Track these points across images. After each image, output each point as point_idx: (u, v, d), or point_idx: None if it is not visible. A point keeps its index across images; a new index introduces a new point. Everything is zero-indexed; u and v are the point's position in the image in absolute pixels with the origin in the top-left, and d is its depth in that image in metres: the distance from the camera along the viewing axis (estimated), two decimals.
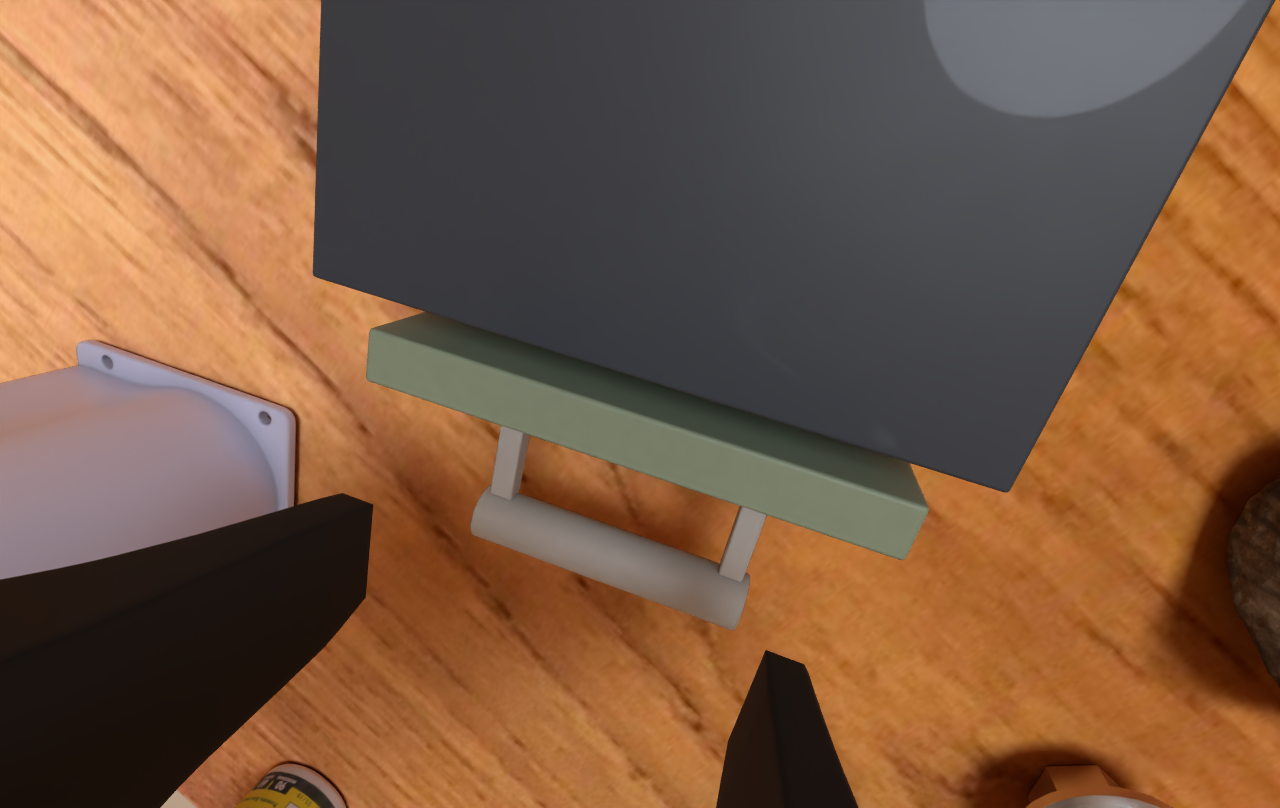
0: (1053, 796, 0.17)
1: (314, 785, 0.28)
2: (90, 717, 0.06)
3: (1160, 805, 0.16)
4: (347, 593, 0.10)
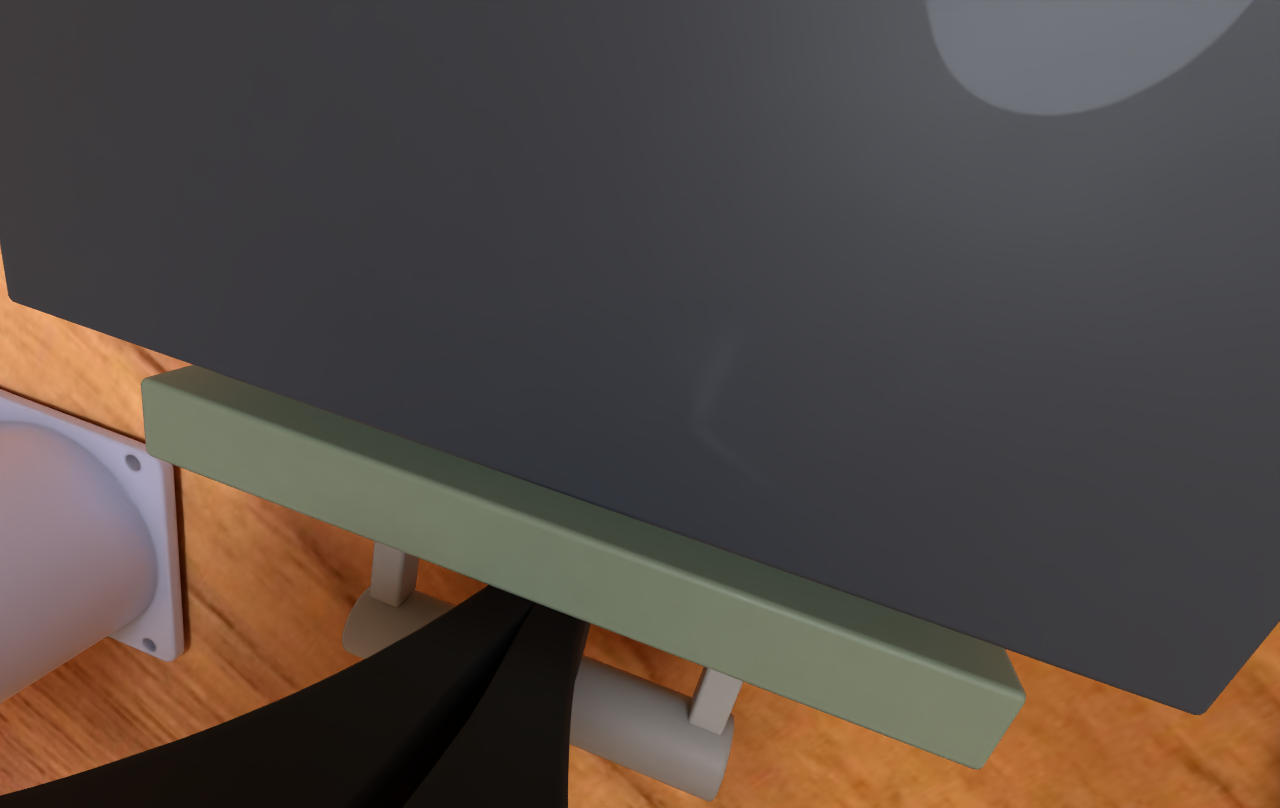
0: None
1: None
2: None
3: None
4: None
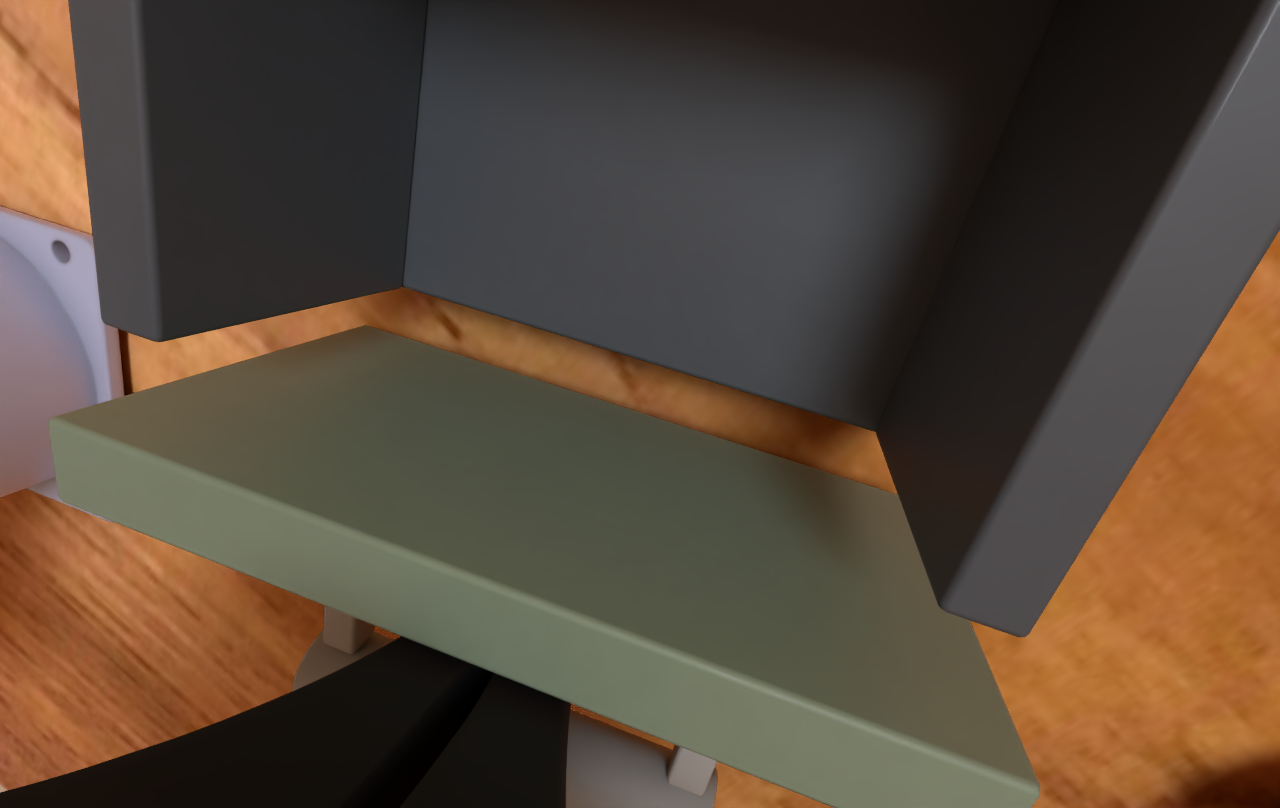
0: None
1: None
2: None
3: None
4: None
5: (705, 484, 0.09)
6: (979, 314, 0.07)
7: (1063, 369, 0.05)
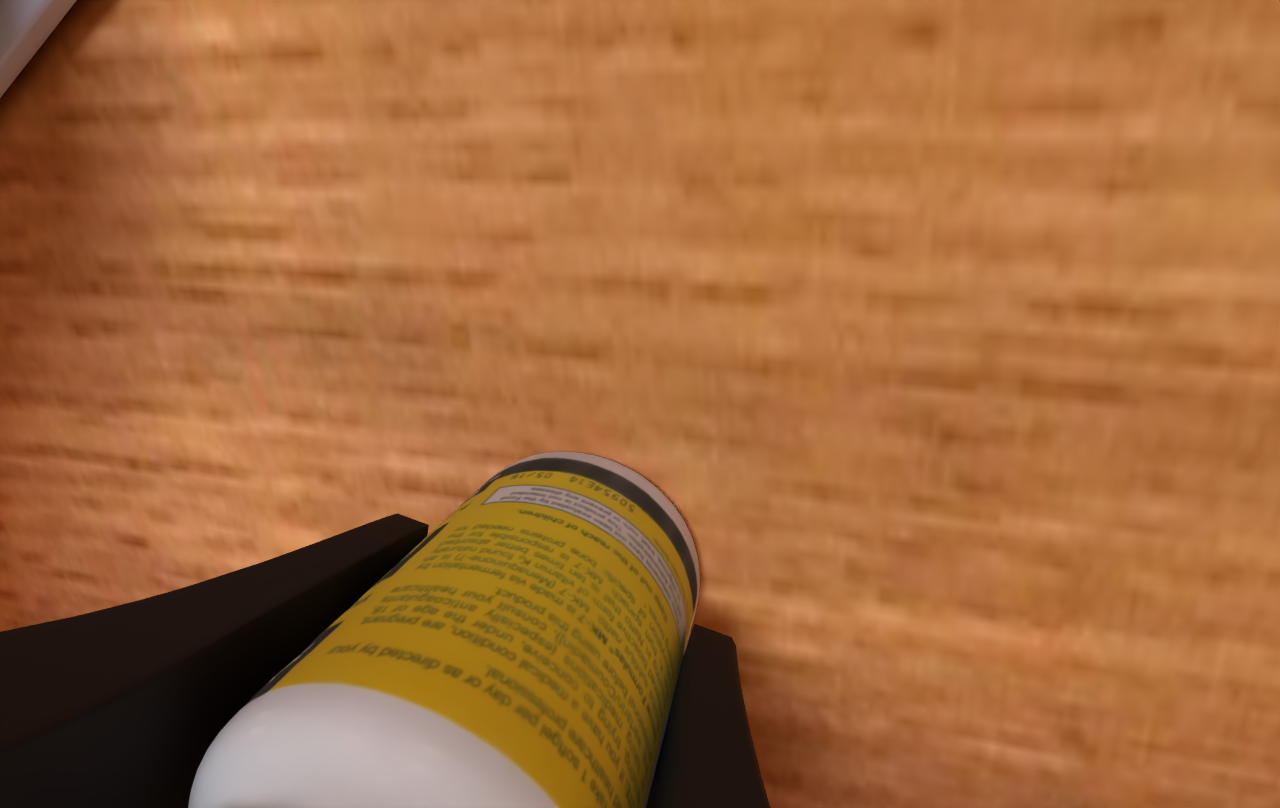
0: None
1: (544, 458, 0.10)
2: (173, 755, 0.06)
3: None
4: None
5: None
6: None
7: None
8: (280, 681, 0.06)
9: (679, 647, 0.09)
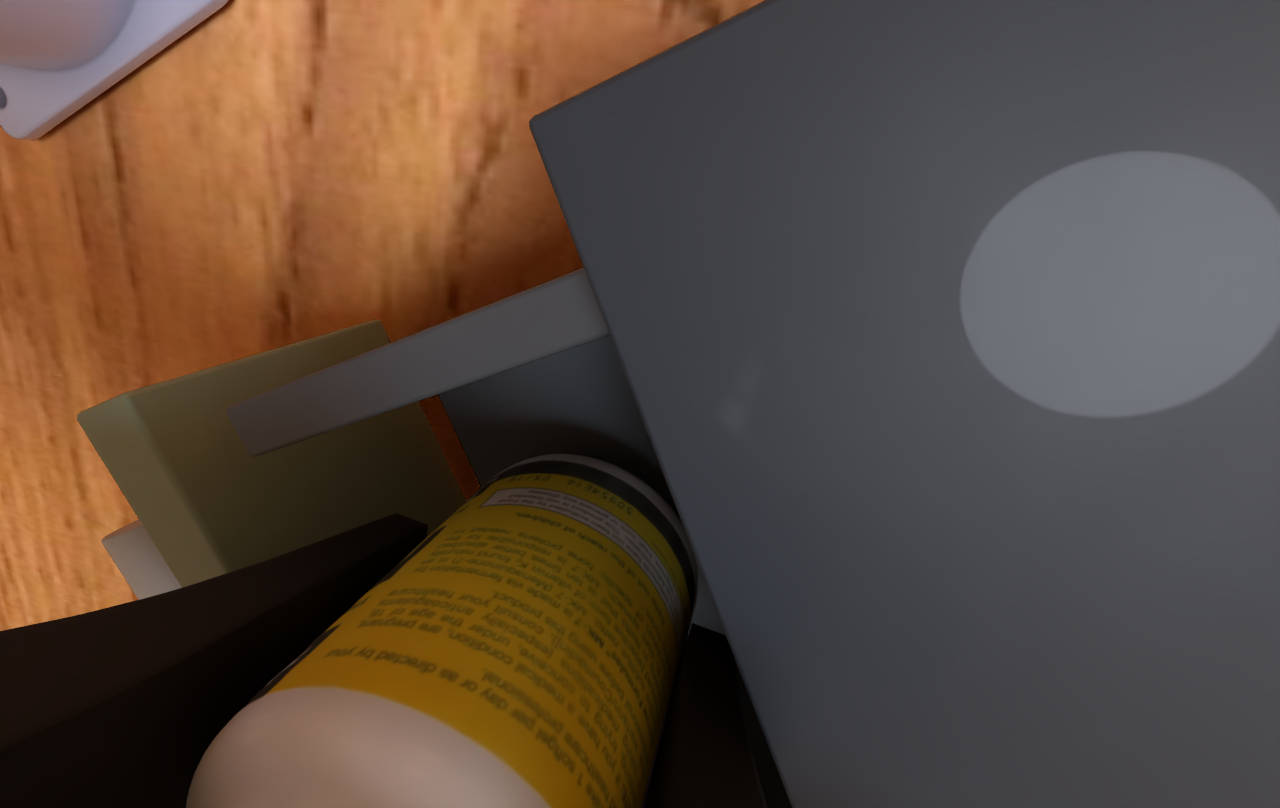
0: None
1: (542, 460, 0.10)
2: (172, 755, 0.06)
3: None
4: None
5: None
6: None
7: None
8: (277, 685, 0.06)
9: (676, 650, 0.09)
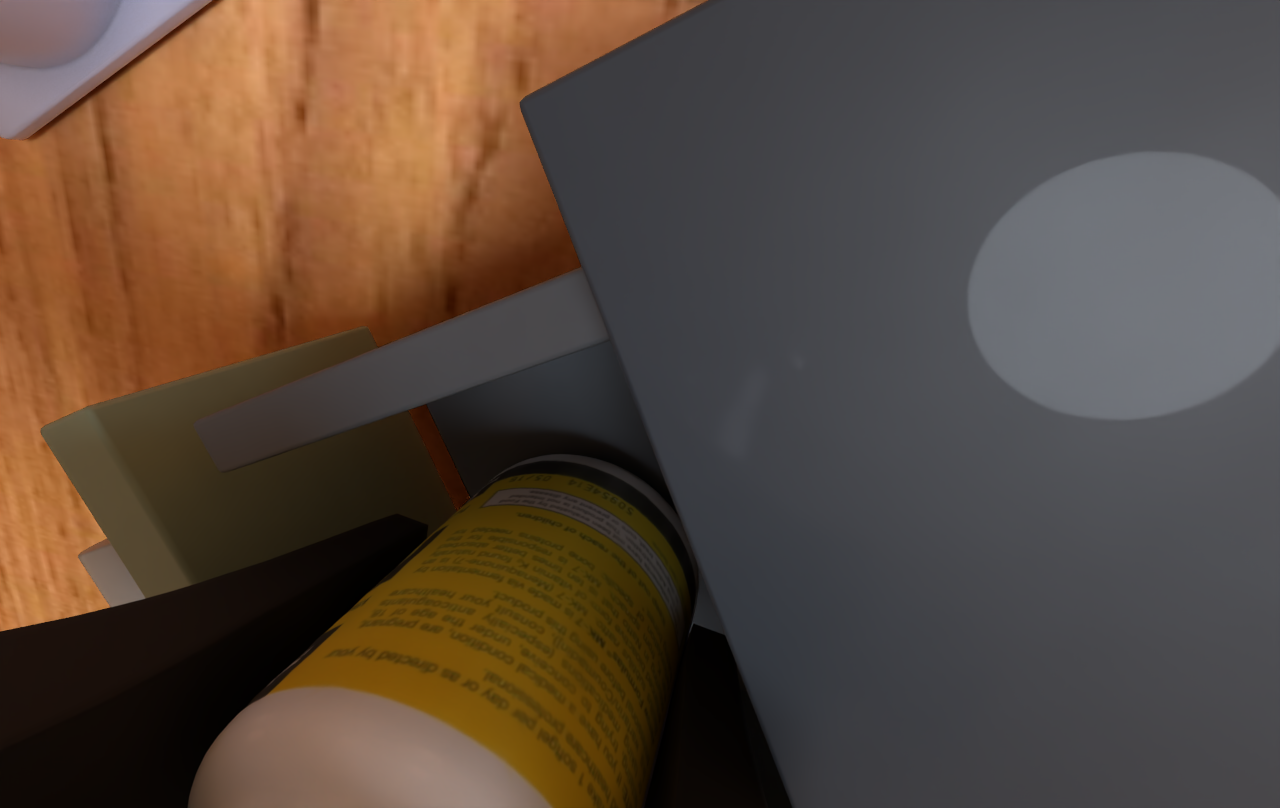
0: None
1: (543, 461, 0.10)
2: (172, 755, 0.06)
3: None
4: None
5: None
6: None
7: None
8: (278, 684, 0.06)
9: (677, 650, 0.09)
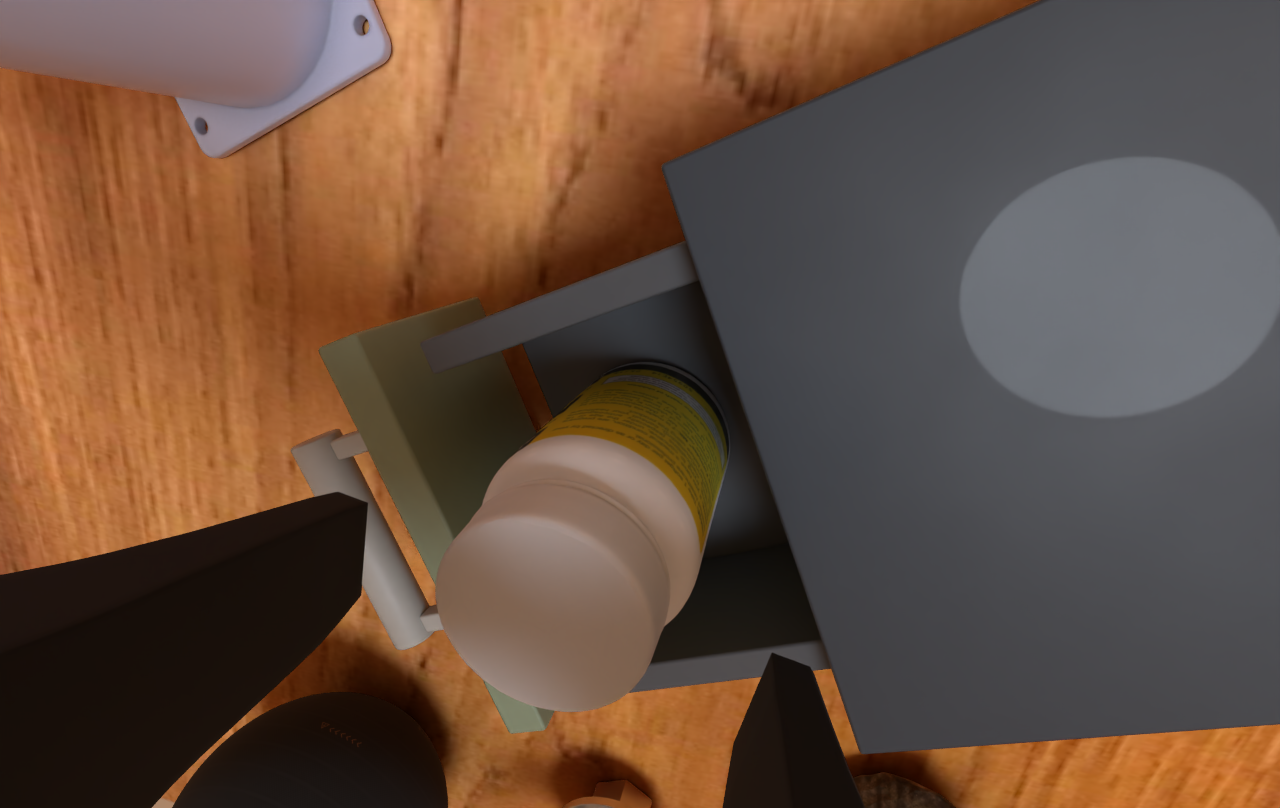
0: (621, 805, 0.23)
1: (631, 364, 0.16)
2: (83, 714, 0.06)
3: None
4: (342, 591, 0.10)
5: None
6: None
7: (654, 661, 0.15)
8: (531, 441, 0.12)
9: (721, 468, 0.15)
